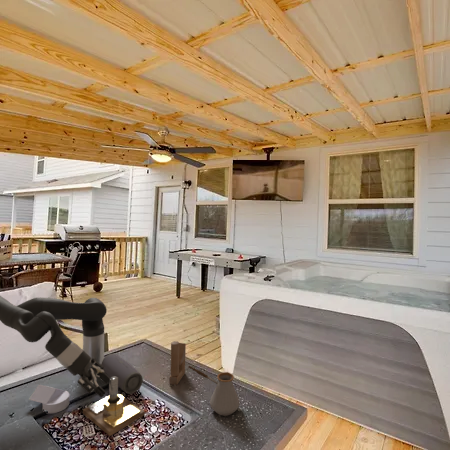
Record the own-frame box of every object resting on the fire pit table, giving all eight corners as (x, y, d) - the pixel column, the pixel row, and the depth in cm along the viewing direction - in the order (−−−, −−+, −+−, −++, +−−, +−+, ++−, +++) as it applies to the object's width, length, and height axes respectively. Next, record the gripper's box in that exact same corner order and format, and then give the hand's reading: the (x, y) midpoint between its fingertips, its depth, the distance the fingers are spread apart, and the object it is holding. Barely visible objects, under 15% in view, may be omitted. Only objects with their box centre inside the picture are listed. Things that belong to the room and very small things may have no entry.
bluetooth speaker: (144, 391, 128) (144, 368, 128) (122, 401, 122) (123, 376, 121) (119, 370, 145) (119, 349, 144) (99, 377, 138) (99, 355, 138)
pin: (107, 410, 114) (107, 378, 113) (114, 406, 116) (115, 375, 115) (111, 413, 112) (112, 381, 111) (119, 409, 114) (119, 378, 114)
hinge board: (82, 413, 114) (82, 409, 114) (116, 396, 125) (116, 392, 125) (109, 436, 103) (109, 431, 103) (144, 415, 114) (144, 411, 114)
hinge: (87, 408, 115) (87, 397, 114) (114, 394, 123) (114, 384, 123) (113, 428, 104) (113, 417, 104) (140, 412, 113) (140, 402, 113)
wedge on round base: (28, 408, 116) (55, 415, 112) (28, 390, 116) (55, 397, 112) (48, 394, 125) (74, 401, 121) (48, 378, 124) (74, 384, 121)
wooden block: (185, 373, 144) (185, 335, 143) (176, 385, 133) (177, 345, 133) (177, 372, 145) (178, 334, 144) (168, 384, 134) (169, 344, 133)
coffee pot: (241, 402, 123) (243, 365, 122) (236, 421, 112) (237, 381, 111) (191, 393, 128) (192, 358, 127) (181, 411, 117) (181, 372, 116)
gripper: (72, 356, 116) (103, 384, 118) (58, 376, 102) (93, 408, 104) (87, 342, 117) (117, 370, 119) (75, 360, 103) (110, 392, 105)
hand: (106, 388), depth 112 cm, fingers open, 8 cm apart
